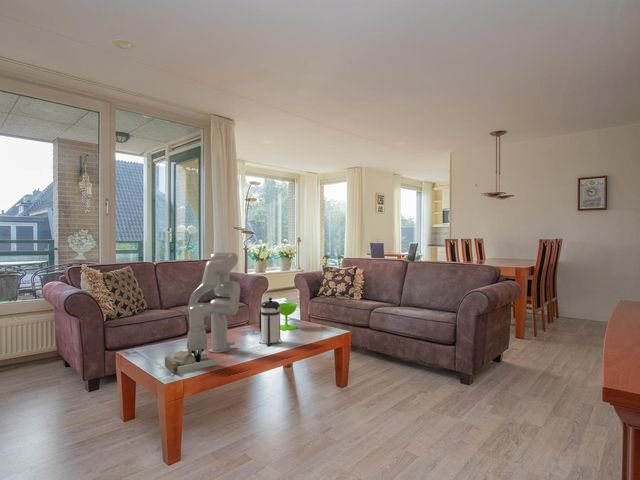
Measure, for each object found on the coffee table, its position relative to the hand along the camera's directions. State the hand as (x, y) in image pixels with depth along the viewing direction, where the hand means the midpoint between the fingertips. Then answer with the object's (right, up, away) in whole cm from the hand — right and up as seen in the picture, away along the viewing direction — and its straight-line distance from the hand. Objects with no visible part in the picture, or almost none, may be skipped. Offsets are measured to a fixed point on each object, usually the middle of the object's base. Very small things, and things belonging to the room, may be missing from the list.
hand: (197, 361), depth 207 cm
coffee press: (+34, -1, +41) cm, 53 cm away
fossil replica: (-6, -2, -5) cm, 8 cm away
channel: (-3, -1, -2) cm, 4 cm away
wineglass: (+41, -1, +82) cm, 92 cm away
